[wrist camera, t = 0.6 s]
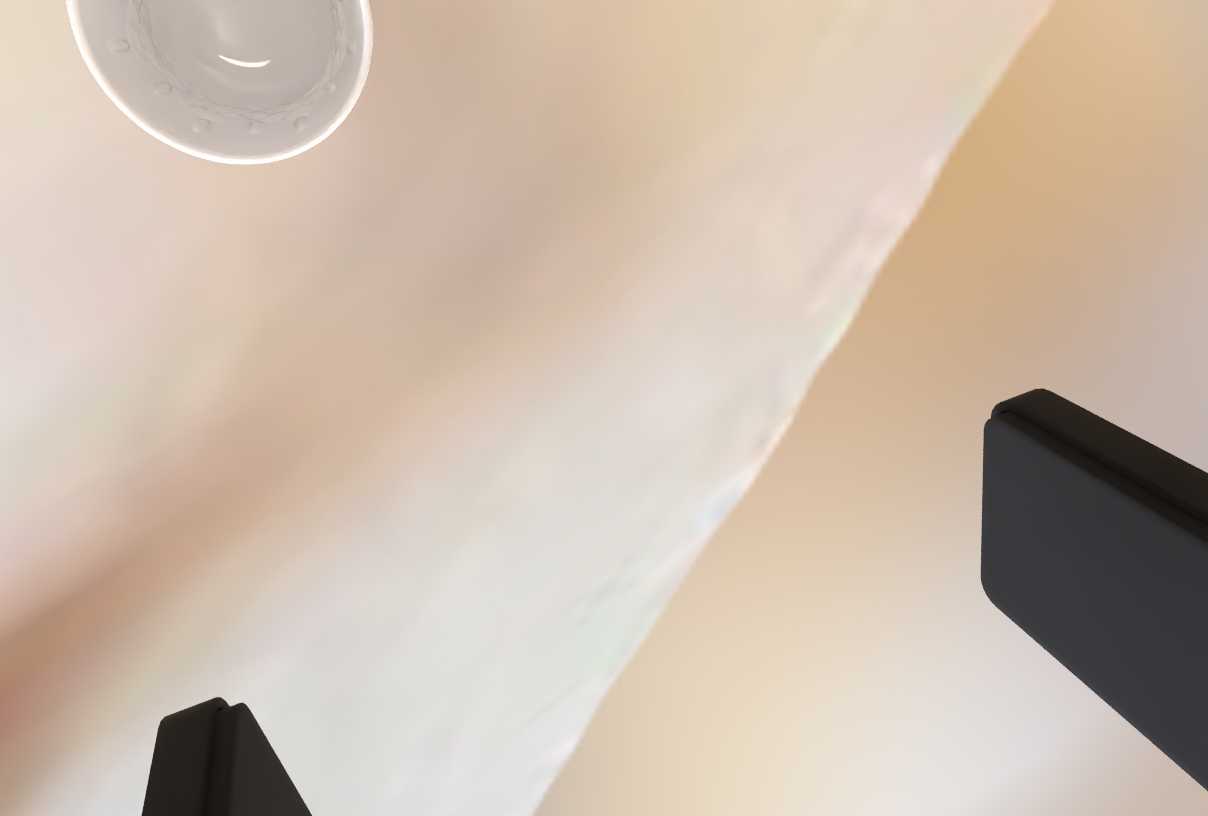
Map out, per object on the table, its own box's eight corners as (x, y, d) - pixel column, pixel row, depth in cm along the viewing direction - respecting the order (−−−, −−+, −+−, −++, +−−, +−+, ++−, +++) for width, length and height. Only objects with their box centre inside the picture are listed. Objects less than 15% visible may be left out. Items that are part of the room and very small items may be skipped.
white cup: (342, -97, 32) (356, -139, 23) (366, 123, 35) (386, 158, 27) (108, -107, 30) (27, -157, 21) (156, 129, 33) (104, 169, 24)
